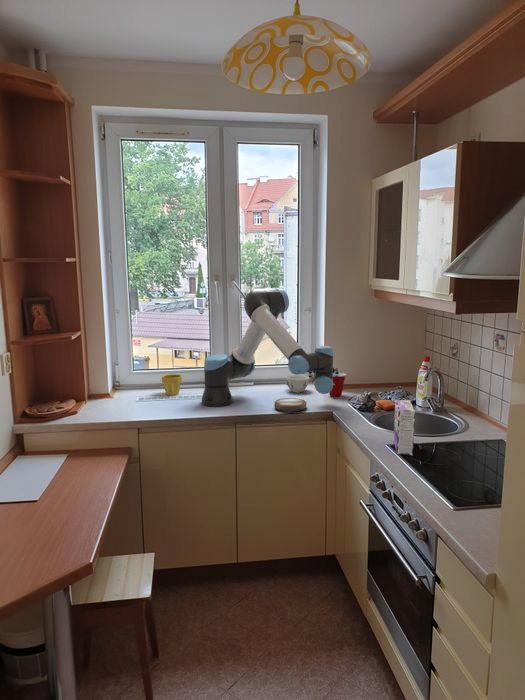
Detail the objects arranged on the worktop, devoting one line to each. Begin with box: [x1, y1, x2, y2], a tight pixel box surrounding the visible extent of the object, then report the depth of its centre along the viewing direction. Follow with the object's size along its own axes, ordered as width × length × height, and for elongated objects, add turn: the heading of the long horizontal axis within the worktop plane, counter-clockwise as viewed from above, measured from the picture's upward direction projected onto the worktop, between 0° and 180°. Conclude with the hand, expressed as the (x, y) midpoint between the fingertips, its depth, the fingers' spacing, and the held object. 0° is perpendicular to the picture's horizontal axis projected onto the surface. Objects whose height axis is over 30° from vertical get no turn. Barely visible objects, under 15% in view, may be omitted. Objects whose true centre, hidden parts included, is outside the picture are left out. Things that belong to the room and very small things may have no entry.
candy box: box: [393, 399, 416, 456], centre depth 179 cm, size 14×6×16 cm, turn 169°
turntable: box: [274, 397, 307, 412], centre depth 231 cm, size 15×15×2 cm
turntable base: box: [277, 409, 304, 413], centre depth 232 cm, size 12×12×1 cm
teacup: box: [283, 374, 310, 394], centre depth 263 cm, size 15×12×8 cm
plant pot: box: [161, 373, 183, 396], centre depth 259 cm, size 10×10×10 cm
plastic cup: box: [328, 372, 347, 398], centre depth 251 cm, size 11×11×12 cm
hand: (323, 367), depth 239 cm, fingers closed on condiment, 6 cm apart
